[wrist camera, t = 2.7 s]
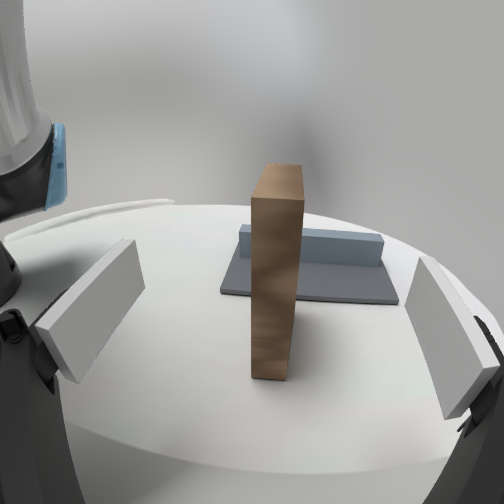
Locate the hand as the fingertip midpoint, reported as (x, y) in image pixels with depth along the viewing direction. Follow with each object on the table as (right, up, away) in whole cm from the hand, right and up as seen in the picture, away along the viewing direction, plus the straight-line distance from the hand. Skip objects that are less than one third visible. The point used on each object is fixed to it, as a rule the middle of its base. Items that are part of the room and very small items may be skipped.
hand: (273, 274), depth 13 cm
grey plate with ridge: (+7, 0, +29) cm, 30 cm away
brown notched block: (+1, -8, +16) cm, 17 cm away
